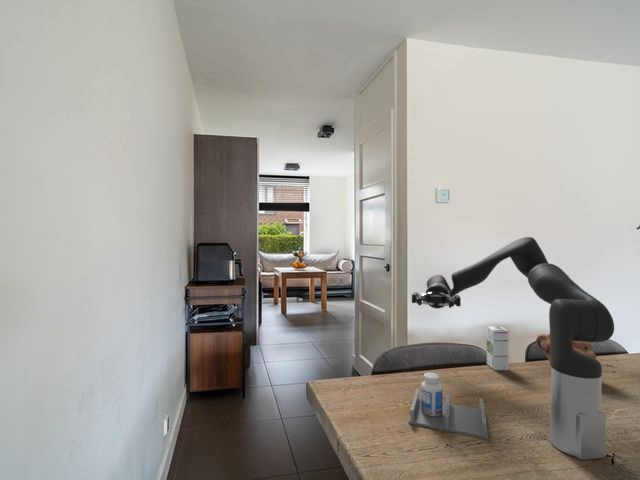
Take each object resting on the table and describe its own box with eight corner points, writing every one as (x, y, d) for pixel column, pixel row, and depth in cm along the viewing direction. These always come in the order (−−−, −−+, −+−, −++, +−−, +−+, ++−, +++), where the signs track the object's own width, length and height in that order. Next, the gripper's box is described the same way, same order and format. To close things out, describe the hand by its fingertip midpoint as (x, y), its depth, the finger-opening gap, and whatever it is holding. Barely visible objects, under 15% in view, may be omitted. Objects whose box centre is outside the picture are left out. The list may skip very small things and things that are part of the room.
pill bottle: (439, 407, 96) (440, 372, 96) (444, 417, 90) (445, 379, 90) (419, 406, 96) (419, 371, 96) (422, 416, 91) (423, 378, 91)
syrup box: (509, 370, 126) (509, 330, 126) (492, 370, 126) (493, 329, 126) (501, 364, 132) (501, 326, 132) (485, 364, 132) (486, 325, 132)
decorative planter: (525, 366, 130) (525, 329, 130) (544, 361, 136) (544, 325, 136) (586, 387, 112) (587, 343, 112) (605, 380, 118) (606, 338, 118)
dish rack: (414, 400, 102) (414, 387, 102) (483, 412, 95) (484, 399, 95) (408, 423, 89) (408, 409, 89) (488, 439, 82) (488, 424, 82)
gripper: (460, 308, 115) (460, 318, 100) (415, 304, 120) (409, 313, 105) (460, 285, 115) (460, 291, 100) (415, 282, 120) (409, 288, 105)
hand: (434, 303), depth 103 cm, fingers open, 8 cm apart
